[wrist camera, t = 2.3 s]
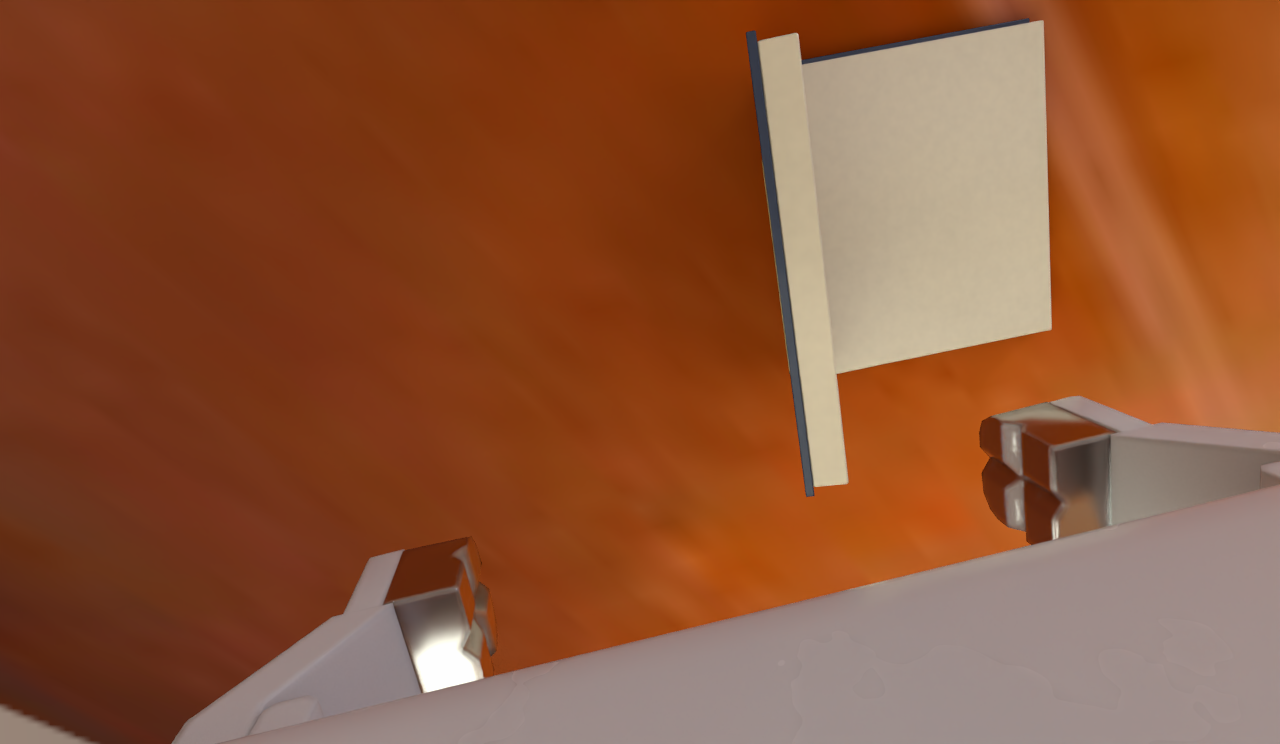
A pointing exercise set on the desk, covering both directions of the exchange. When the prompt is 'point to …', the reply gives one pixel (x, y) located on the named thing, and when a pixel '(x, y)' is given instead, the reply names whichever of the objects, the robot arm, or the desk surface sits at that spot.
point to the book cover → (798, 255)
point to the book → (932, 191)
